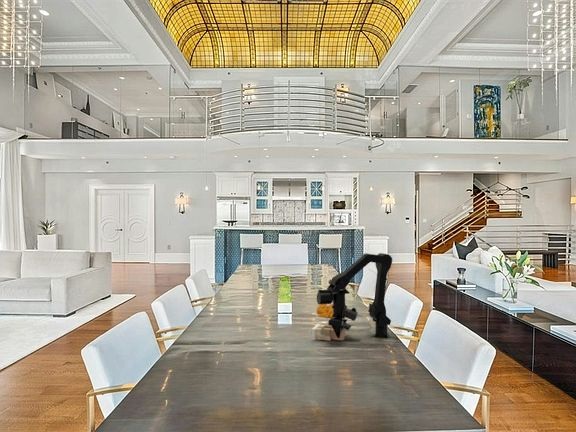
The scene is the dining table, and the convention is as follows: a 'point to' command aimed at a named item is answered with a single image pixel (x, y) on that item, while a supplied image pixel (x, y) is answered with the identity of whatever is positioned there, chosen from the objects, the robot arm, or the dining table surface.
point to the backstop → (314, 331)
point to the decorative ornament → (325, 311)
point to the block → (323, 332)
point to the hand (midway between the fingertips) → (339, 336)
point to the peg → (333, 335)
